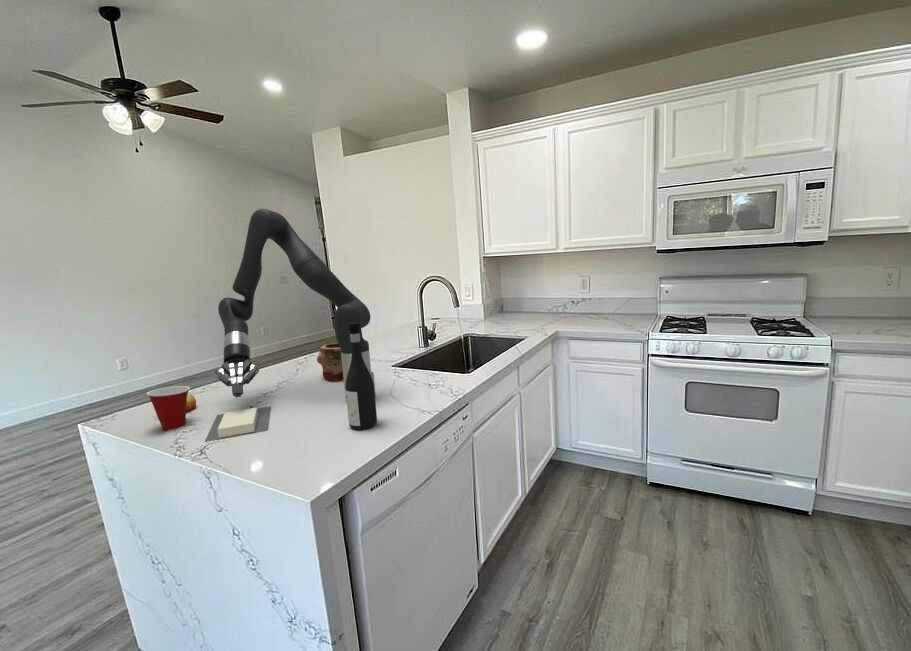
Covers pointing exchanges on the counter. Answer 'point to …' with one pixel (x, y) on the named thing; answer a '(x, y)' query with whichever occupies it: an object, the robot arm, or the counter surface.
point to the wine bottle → (359, 386)
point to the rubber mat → (261, 426)
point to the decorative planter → (331, 362)
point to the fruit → (190, 402)
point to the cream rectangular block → (238, 422)
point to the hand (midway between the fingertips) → (237, 395)
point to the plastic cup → (170, 405)
